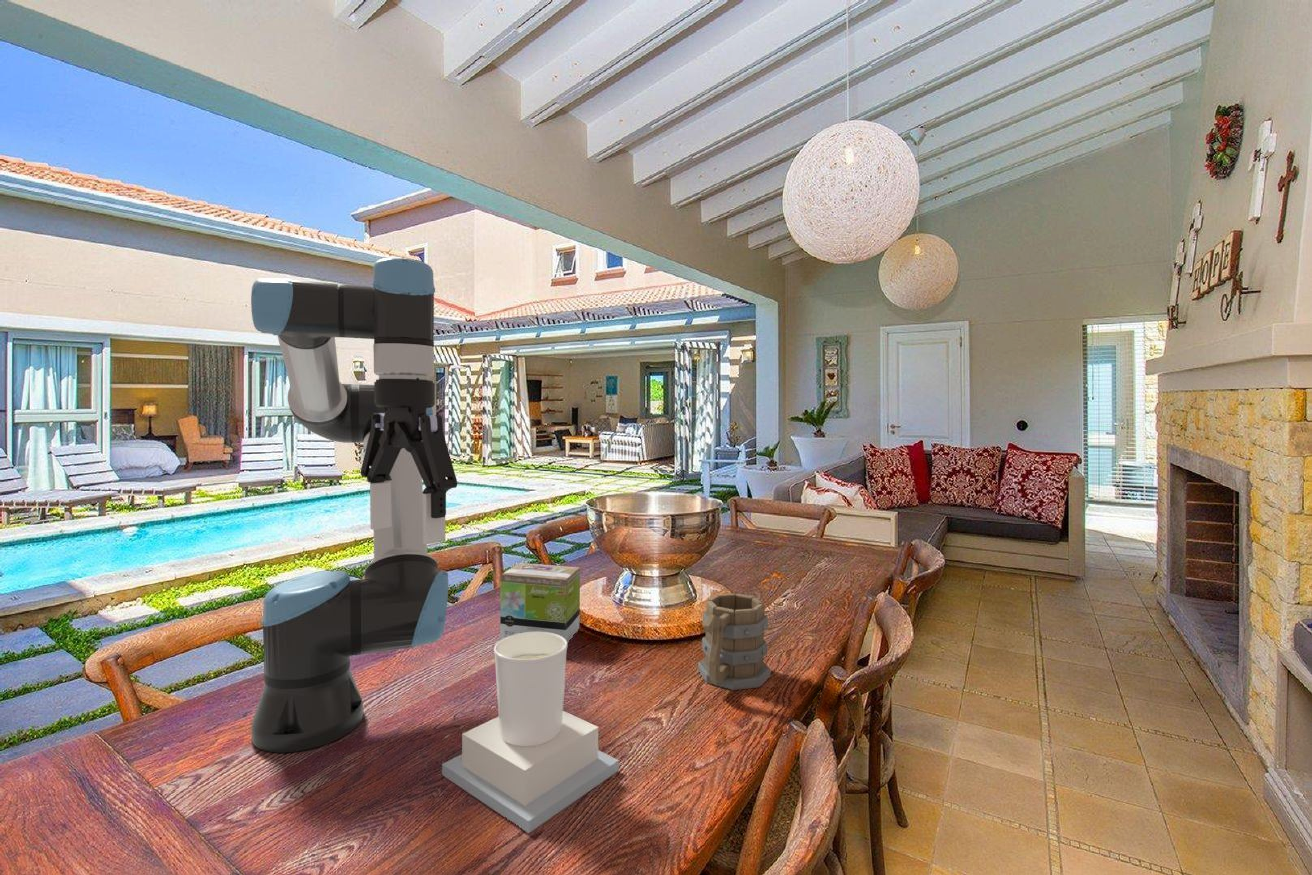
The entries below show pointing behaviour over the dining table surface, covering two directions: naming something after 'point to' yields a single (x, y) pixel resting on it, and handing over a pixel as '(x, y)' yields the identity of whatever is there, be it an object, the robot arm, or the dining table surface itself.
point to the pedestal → (530, 770)
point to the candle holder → (530, 687)
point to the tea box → (540, 600)
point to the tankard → (734, 642)
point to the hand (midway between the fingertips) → (406, 535)
